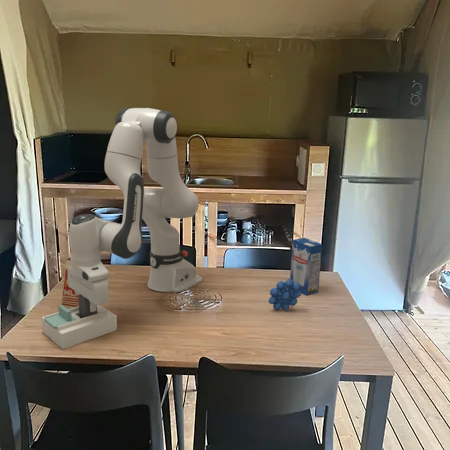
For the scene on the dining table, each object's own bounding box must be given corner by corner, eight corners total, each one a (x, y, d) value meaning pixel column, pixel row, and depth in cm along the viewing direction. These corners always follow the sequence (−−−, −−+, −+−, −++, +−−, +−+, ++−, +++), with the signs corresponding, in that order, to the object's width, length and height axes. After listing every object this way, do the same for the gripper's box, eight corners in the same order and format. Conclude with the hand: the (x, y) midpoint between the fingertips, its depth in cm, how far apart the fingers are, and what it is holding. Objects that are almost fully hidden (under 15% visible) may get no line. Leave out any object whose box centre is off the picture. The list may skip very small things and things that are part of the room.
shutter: (66, 314, 143) (65, 303, 142) (76, 322, 138) (76, 310, 137) (44, 320, 138) (43, 309, 137) (54, 329, 133) (53, 317, 132)
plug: (91, 317, 148) (89, 288, 145) (97, 321, 145) (96, 292, 142) (79, 321, 145) (78, 292, 143) (85, 325, 142) (84, 296, 140)
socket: (95, 315, 155) (94, 298, 153) (117, 330, 145) (116, 312, 143) (42, 331, 142) (41, 313, 141) (62, 349, 133) (61, 330, 131)
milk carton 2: (318, 292, 179) (322, 244, 174) (306, 296, 175) (310, 246, 170) (300, 284, 187) (304, 237, 182) (289, 287, 183) (292, 239, 178)
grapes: (297, 304, 167) (299, 274, 164) (301, 313, 161) (304, 281, 158) (265, 305, 166) (267, 274, 163) (269, 313, 160) (271, 281, 157)
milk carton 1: (84, 310, 158) (81, 255, 153) (60, 307, 159) (56, 253, 154) (96, 300, 166) (94, 247, 161) (73, 297, 168) (70, 245, 163)
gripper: (61, 260, 145) (63, 300, 149) (92, 278, 131) (94, 322, 135) (79, 256, 150) (81, 295, 153) (112, 273, 136) (113, 316, 139)
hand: (88, 308), depth 144 cm, fingers closed on plug, 4 cm apart
